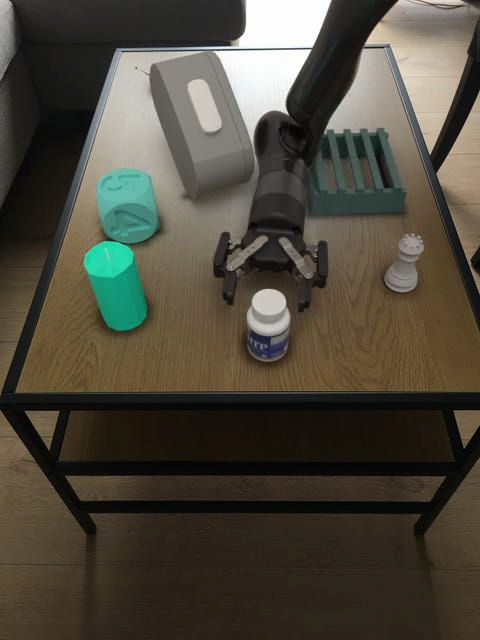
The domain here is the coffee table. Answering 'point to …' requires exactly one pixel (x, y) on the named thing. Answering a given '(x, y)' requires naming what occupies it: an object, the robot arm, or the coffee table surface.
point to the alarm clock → (202, 123)
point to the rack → (356, 175)
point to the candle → (116, 285)
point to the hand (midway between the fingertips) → (265, 304)
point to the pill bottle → (268, 325)
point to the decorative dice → (127, 205)
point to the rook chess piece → (405, 265)
